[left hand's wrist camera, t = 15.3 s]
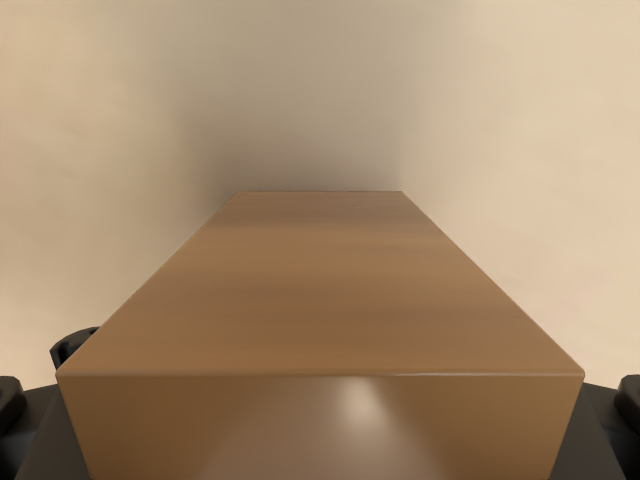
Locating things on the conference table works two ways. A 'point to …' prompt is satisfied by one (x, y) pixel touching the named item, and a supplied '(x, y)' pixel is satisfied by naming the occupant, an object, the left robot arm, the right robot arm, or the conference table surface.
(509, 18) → the conference table surface
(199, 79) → the conference table surface
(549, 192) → the conference table surface
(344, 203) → the box
